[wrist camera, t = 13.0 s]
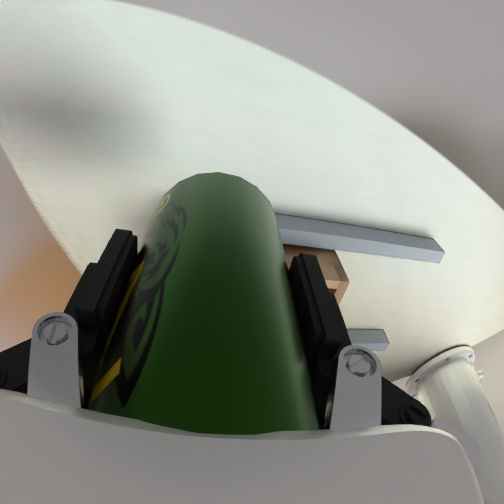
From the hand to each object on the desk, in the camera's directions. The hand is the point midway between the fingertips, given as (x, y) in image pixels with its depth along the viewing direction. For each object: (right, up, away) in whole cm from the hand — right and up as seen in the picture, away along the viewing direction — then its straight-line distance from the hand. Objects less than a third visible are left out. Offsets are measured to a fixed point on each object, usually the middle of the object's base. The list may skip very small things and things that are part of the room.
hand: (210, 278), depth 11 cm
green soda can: (0, +2, +4) cm, 4 cm away
